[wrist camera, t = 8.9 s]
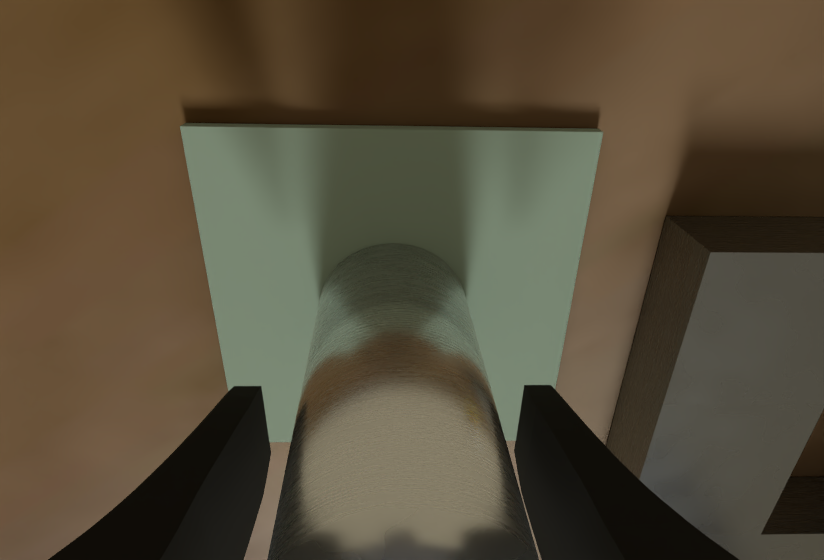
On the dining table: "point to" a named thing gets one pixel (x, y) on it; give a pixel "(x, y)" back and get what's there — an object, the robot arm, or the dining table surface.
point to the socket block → (731, 381)
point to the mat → (389, 237)
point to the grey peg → (398, 425)
